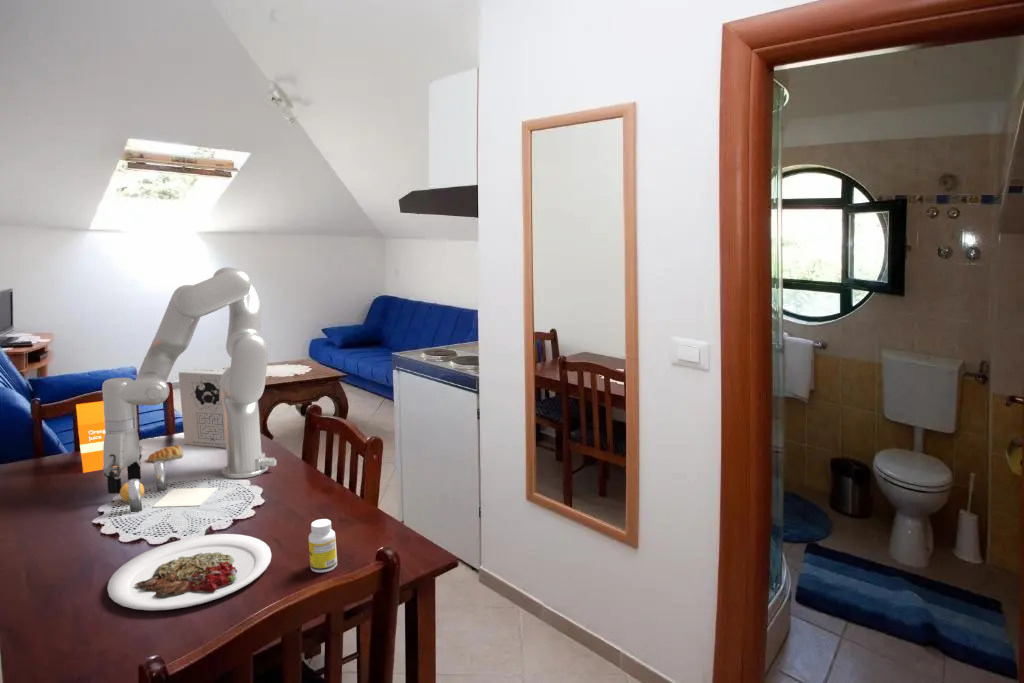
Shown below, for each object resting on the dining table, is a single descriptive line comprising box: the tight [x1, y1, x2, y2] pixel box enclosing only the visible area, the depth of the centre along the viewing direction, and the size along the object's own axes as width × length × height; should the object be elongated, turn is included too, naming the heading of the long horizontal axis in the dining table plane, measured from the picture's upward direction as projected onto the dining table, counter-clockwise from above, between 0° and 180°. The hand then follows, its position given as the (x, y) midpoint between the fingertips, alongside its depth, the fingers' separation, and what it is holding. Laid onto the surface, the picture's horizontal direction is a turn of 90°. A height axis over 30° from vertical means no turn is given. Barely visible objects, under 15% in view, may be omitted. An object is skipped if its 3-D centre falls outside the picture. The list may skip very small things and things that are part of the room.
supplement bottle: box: [308, 518, 338, 574], centre depth 134 cm, size 5×5×10 cm
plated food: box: [107, 533, 272, 611], centre depth 132 cm, size 30×30×3 cm
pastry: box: [148, 444, 184, 463], centre depth 202 cm, size 9×7×4 cm
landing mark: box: [151, 487, 219, 508], centre depth 171 cm, size 12×12×1 cm
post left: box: [126, 479, 143, 513], centre depth 162 cm, size 3×3×8 cm
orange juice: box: [75, 400, 119, 474], centre depth 194 cm, size 8×9×20 cm
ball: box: [119, 482, 145, 503], centre depth 169 cm, size 6×6×6 cm
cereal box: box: [178, 367, 228, 449], centre depth 215 cm, size 22×8×25 cm, turn 77°
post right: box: [153, 461, 168, 493], centre depth 176 cm, size 3×3×8 cm
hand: (125, 486), depth 173 cm, fingers open, 9 cm apart
